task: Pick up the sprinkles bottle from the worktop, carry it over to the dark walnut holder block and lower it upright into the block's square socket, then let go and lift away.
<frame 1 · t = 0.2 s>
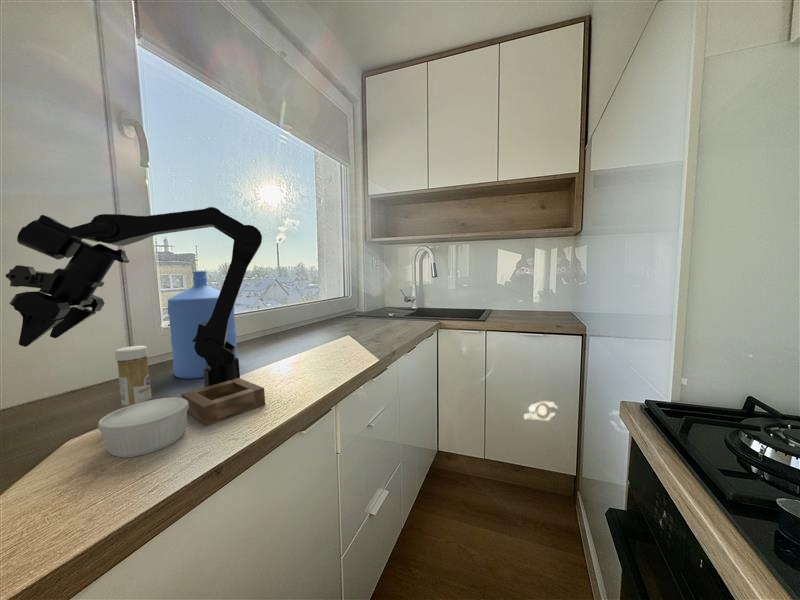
hand: (38, 341, 61), 15 cm above the table, tool tilted 30°, fingers open, 9 cm apart
socket block: (224, 407, 62), on the table
water jug: (207, 371, 88), on the table
ramekin: (149, 443, 50), on the table
sprinkles bottle: (138, 418, 59), on the table
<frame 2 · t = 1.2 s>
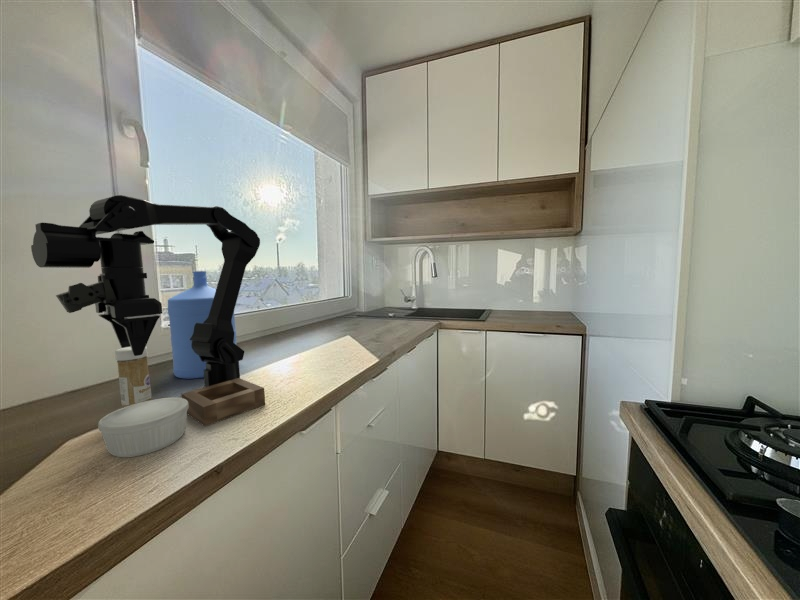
hand: (131, 351, 58), 13 cm above the table, tool pointing down, fingers open, 9 cm apart
nothing on the table moved.
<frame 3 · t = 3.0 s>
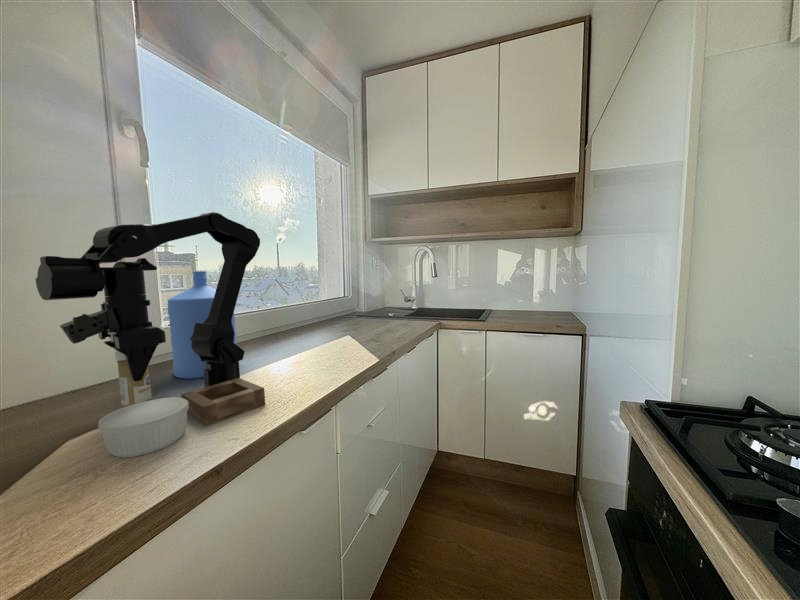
hand: (134, 378, 58), 8 cm above the table, tool pointing down, fingers closed on sprinkles bottle, 4 cm apart
sprinkles bottle: (138, 418, 59), on the table, touching gripper
everything else where it was.
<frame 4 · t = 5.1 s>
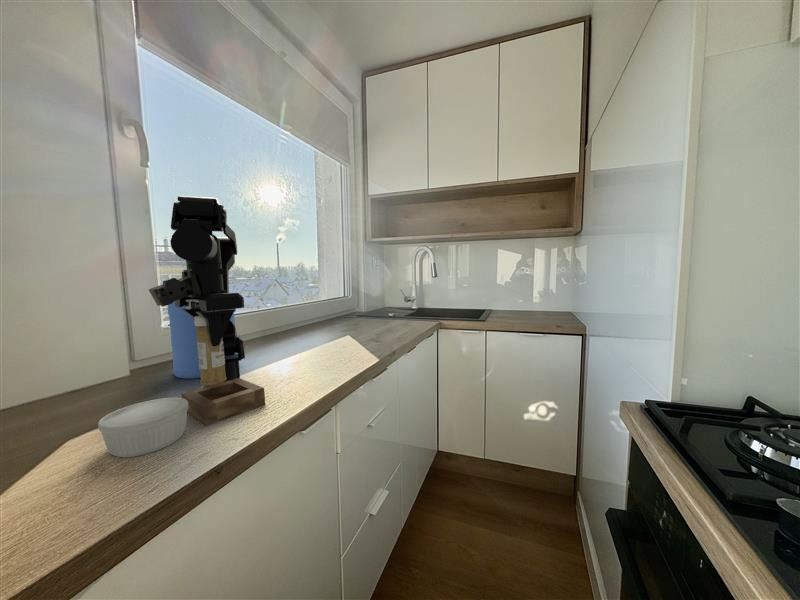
hand: (210, 344, 61), 13 cm above the table, tool pointing down, fingers closed on sprinkles bottle, 4 cm apart
sprinkles bottle: (213, 383, 61), point 5 cm above the table, touching gripper
everything else where it was.
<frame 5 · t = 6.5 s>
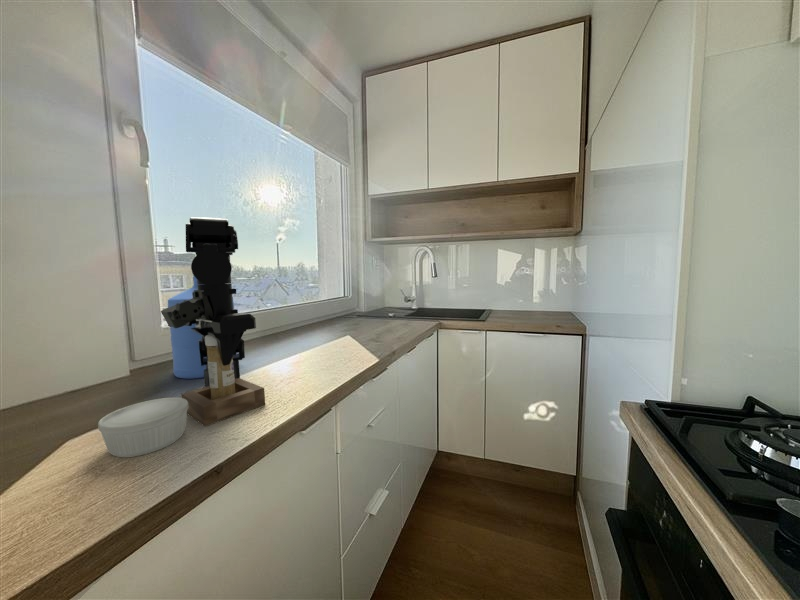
hand: (221, 363, 61), 9 cm above the table, tool pointing down, fingers closed on sprinkles bottle, 4 cm apart
sprinkles bottle: (223, 401, 62), point 1 cm above the table, touching gripper
everything else where it was.
when the fingers open (9 cm above the table, at t = 7.5 s): sprinkles bottle stays where it is, resting on socket block.
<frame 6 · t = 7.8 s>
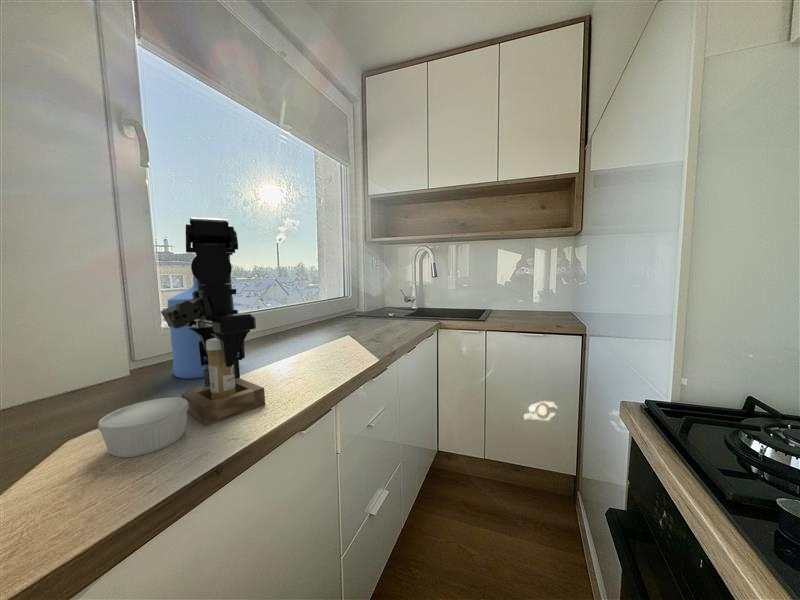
hand: (221, 363, 61), 9 cm above the table, tool pointing down, fingers open, 7 cm apart
sprinkles bottle: (224, 406, 62), resting on socket block
everything else where it was.
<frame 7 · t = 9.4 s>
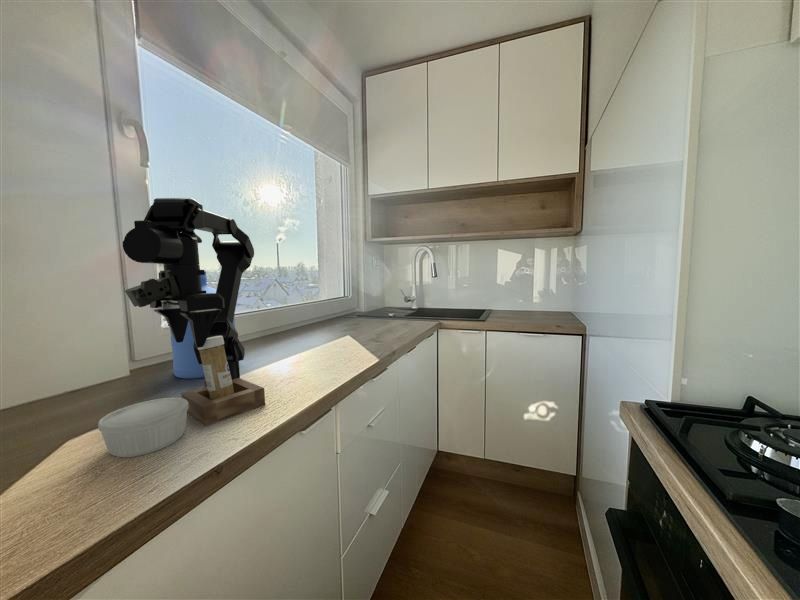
hand: (189, 344, 61), 13 cm above the table, tool pointing down, fingers open, 9 cm apart
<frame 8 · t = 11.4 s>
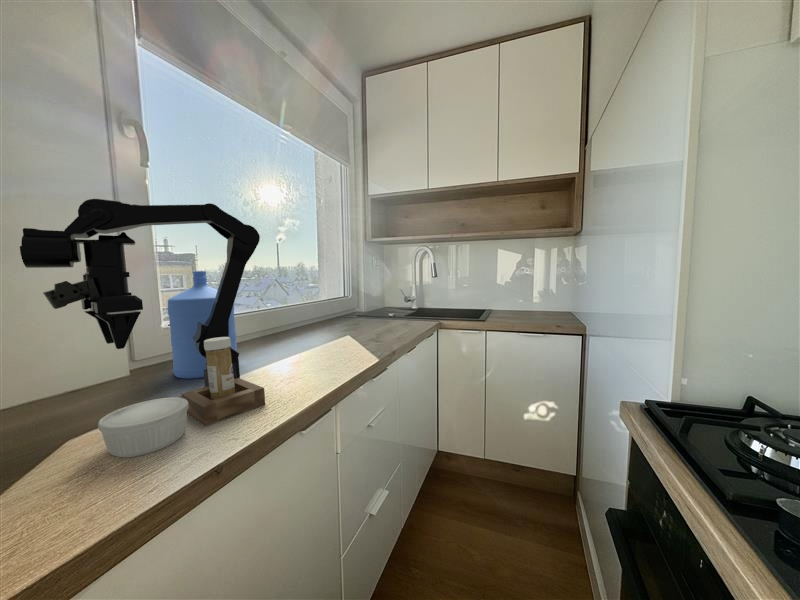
hand: (115, 345, 62), 13 cm above the table, tool pointing down, fingers open, 9 cm apart
at the end: sprinkles bottle 0.1 cm off-centre on the socket block, point 0.4 cm above the socket block's base; sprinkles bottle tilted 2°; the gripper is holding nothing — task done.
